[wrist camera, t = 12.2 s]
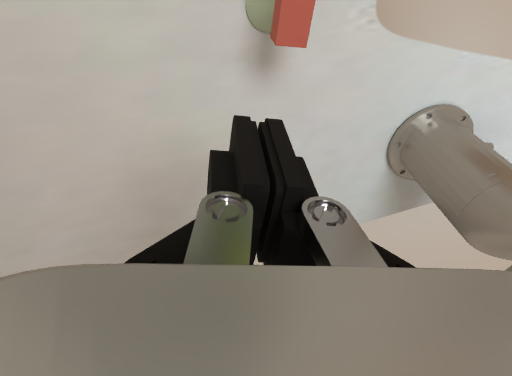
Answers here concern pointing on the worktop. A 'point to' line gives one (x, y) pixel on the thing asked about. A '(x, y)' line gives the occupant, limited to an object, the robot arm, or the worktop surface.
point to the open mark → (261, 13)
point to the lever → (292, 22)
